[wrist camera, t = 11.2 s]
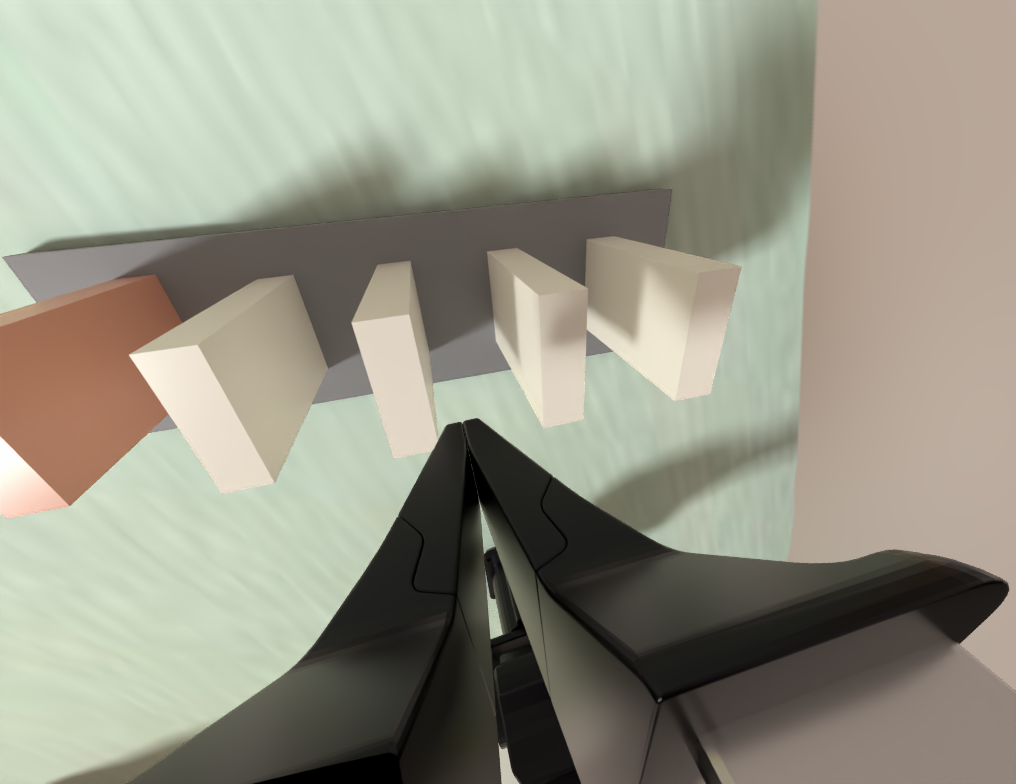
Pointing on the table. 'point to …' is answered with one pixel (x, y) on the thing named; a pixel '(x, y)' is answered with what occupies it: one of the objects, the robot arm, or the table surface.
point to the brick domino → (75, 389)
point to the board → (369, 271)
